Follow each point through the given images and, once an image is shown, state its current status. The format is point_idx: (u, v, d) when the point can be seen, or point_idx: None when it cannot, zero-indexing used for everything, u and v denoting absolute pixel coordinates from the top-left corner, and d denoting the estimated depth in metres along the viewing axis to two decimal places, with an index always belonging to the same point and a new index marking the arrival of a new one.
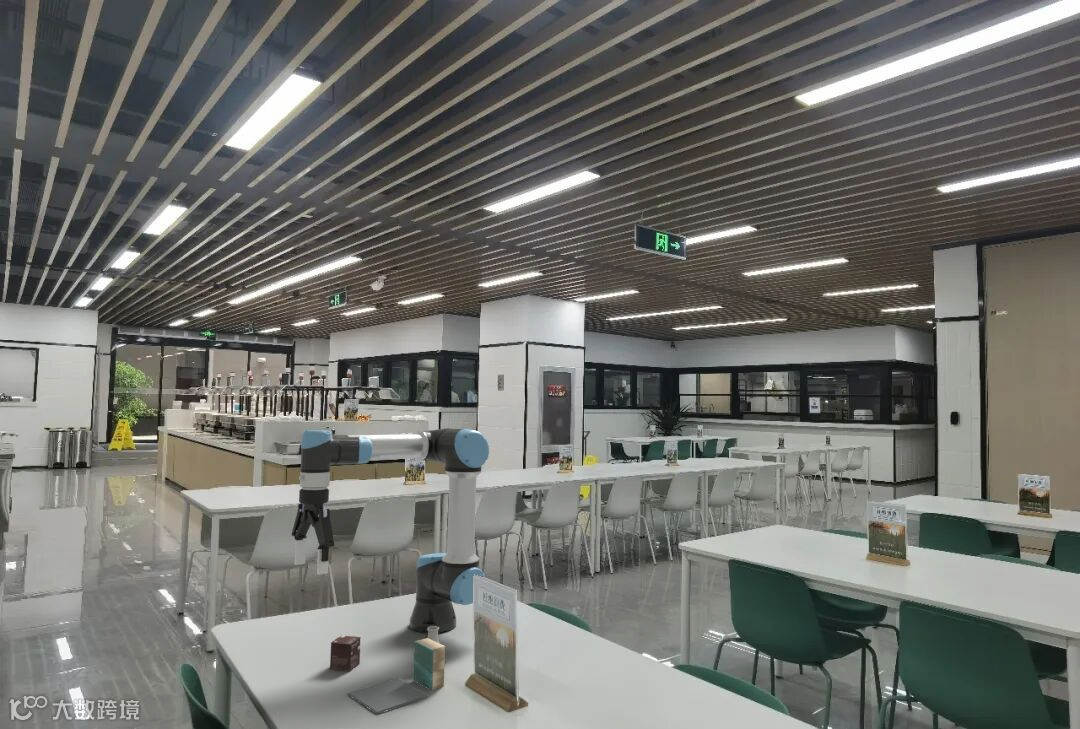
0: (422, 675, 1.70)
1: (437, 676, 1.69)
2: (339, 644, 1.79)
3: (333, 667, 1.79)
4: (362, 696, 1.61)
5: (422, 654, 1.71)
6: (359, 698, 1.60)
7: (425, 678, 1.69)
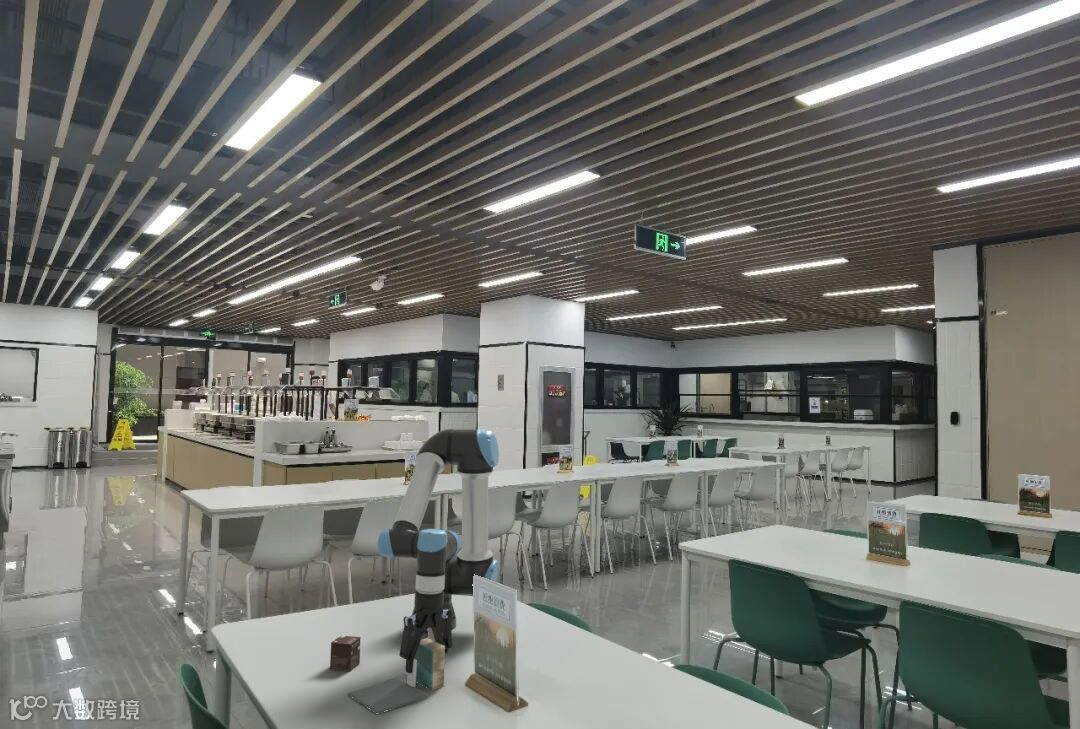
0: (422, 675, 1.70)
1: (437, 676, 1.69)
2: (339, 644, 1.79)
3: (333, 667, 1.79)
4: (362, 696, 1.61)
5: (422, 654, 1.71)
6: (359, 698, 1.60)
7: (425, 678, 1.69)
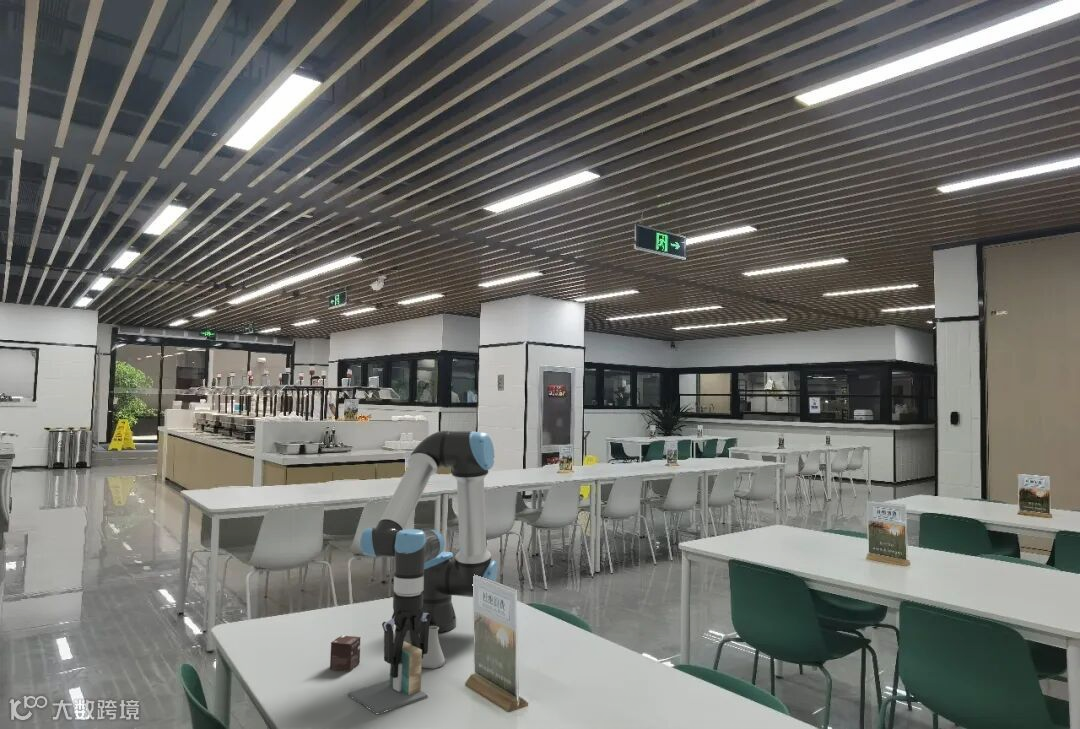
0: None
1: (413, 681, 1.64)
2: (339, 644, 1.79)
3: (333, 667, 1.79)
4: (362, 696, 1.61)
5: None
6: (359, 698, 1.60)
7: (401, 683, 1.64)
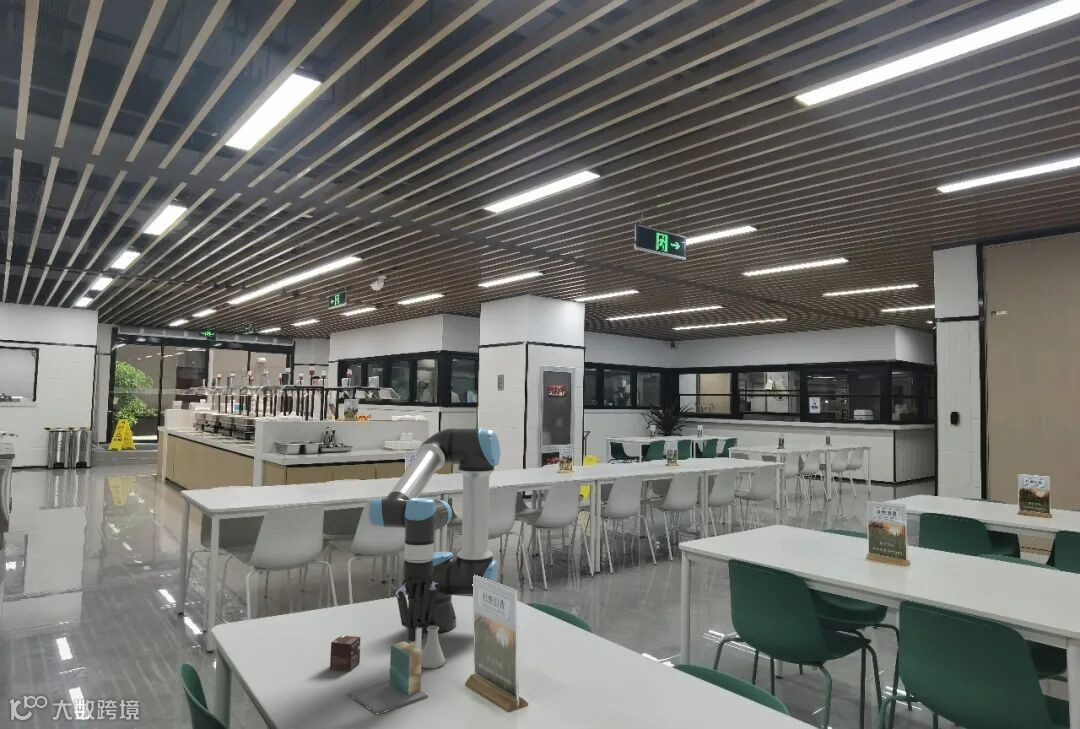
0: (398, 680, 1.65)
1: (413, 681, 1.64)
2: (339, 644, 1.79)
3: (333, 667, 1.79)
4: (362, 696, 1.61)
5: (398, 658, 1.66)
6: (359, 698, 1.60)
7: (401, 683, 1.64)
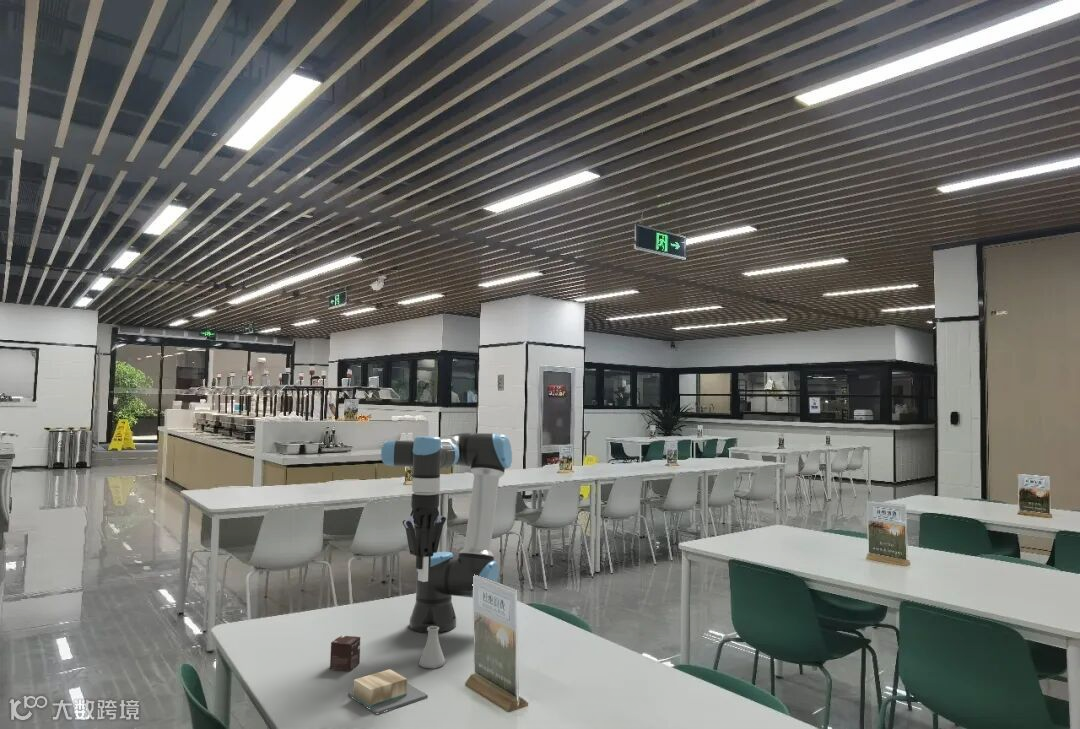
0: None
1: (396, 690, 1.60)
2: (339, 644, 1.79)
3: (333, 667, 1.79)
4: None
5: None
6: None
7: None
